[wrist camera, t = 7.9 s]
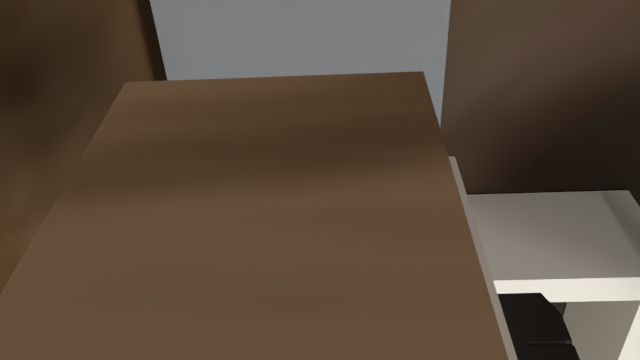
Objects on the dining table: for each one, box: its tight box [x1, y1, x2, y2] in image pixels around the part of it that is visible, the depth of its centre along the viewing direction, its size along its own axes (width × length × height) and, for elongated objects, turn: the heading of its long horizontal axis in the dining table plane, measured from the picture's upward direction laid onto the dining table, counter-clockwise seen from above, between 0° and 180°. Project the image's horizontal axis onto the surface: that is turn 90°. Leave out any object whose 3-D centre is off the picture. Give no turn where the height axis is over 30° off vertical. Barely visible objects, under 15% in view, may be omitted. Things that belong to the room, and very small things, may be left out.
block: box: [0, 71, 509, 360], centre depth 11 cm, size 6×6×8 cm
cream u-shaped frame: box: [467, 190, 640, 360], centre depth 28 cm, size 17×15×5 cm
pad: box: [150, 0, 451, 126], centre depth 21 cm, size 10×10×1 cm
